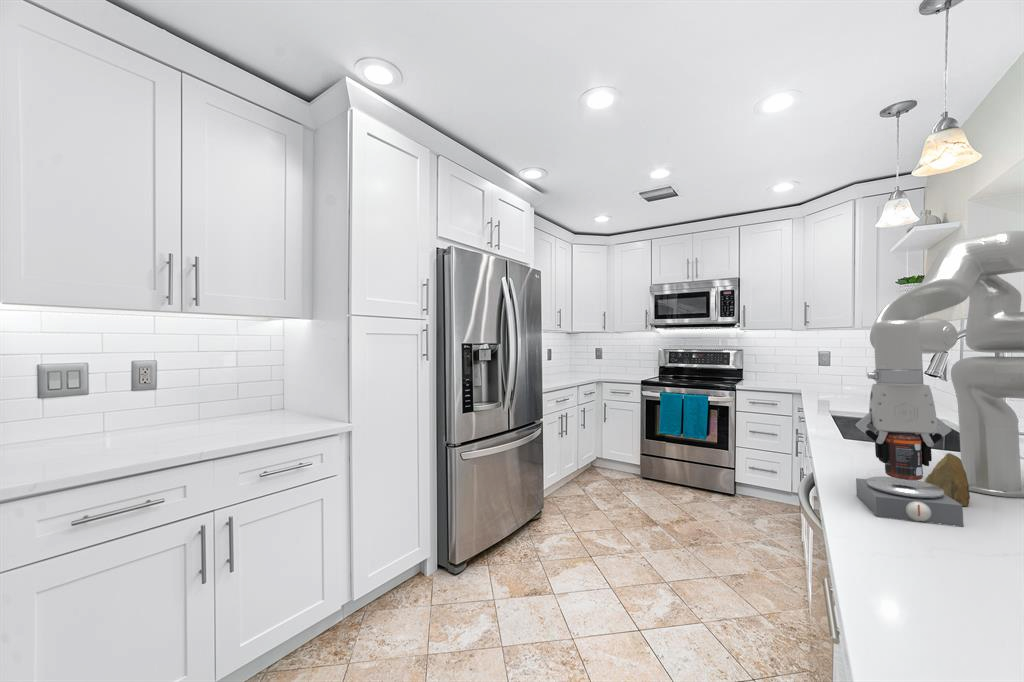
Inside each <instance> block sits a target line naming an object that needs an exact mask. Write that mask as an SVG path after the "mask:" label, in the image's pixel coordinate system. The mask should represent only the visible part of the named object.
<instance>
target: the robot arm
mask: <svg viewBox="0 0 1024 682" xmlns="http://www.w3.org/2000/svg"><path fill="white" fill-rule="evenodd" d="M1023 272H1024V230H1007V231H999V232H994V233H990V234H989V233H988V234H985V235H984V234H983V235H978V236H973V237H967V238H963V239H959V240H955V241H952V242H950V243H947V244H946V245H944V246H943V247H942V248H941V249H939V251H938V252H937V254H936V256H935V258H934V260H933V262H932V263H931V266H930V267H929V269H928V271H927V272H926V274H925V276H924V278H923V279H922V281H921V283H920V284H919V285H917V286H915V287H913V288H911V289H909V290H907V291H906V292H905V293H903V294H901V295H900V296H898V297H896V298H895V299H893V300H892V301H890V302H889V303H888V304H887V305H885V306H884V307H883V308H882V310H881V311H880V312H879V314H878V315H877V318H876V319H875V321H874V323H873V325H872V327H871V329H870V333H869V340H870V341H869V342H870V345H871V346H872V348H873V350H874V361H875V362H874V366H875V369H874V371H872V372H867V374H866V375H867V379H869V380H871V379H872V380H874V382H875V383H872V386H871V389H870V390H871V391H870V397H869V404H868V405H869V408H868V409H869V410H868V413H867V414H866V415H864V416H863V417H862V418H861V419H860V420H858V421H857V422H856V423H855V427H857V429H858V430H860V431H861V432H863V433H864V434H865V435H866V436H867V437H869V439H871V440H872V441H873V442H874V447H875V449H874V450H875V453H874V454H875V458H876V459H878V460H879V461H880V462H881V463H882V464H885V463H888V458H887V445H886V444H885V443H884V440H885V438H886V436H887V434H888V432H897V433H915V434H916V435H918V436H920V438H921V446H922V466H925V467H930V462H932V459H933V458H932V457H933V456H932V447H934V446H935V444H937V443H938V442H939V441H940V440H941V439H942V438H943V437H945V436H946V435H948V434H949V433H950V432H952V428H951V427H950V426H949V425H947V424H946V423H945V422H943V421H942V420H941V419H940V418H938V417H937V412H936V406H935V401H934V397H933V393H932V390H931V386H930V385H929V384H924V368H923V367H924V364H923V354H942V353H945V352H947V351H950V350H951V349H952V348H953V347H954V346H955V345H956V344H957V341H958V340H959V334H958V333H959V332H958V330H957V328H956V327H955V326H954V324H953V323H951V322H950V321H947V320H945V319H942V318H922V317H926V316H928V315H931V314H935V313H939V312H941V311H945V310H947V309H949V308H953V307H954V306H958V305H960V304H961V303H963V302H965V301H966V300H967V299H968V298H969V303H968V304H969V305H968V311H967V312H968V313H967V319H966V327H965V343H966V345H967V347H968V348H969V349H970V350H971V351H975V352H979V353H988V354H989V353H991V354H997V353H998V354H1001V353H1002V354H1003V353H1004V354H1010V353H1011V354H1017V353H1018V354H1022V353H1023V354H1024V311H1021V308H1022V307H1021V306H1022V297H1023V296H1022V293H1021V292H1020V291H1019V290H1018V289H1017V288H1016V287H1015V286H1014V285H1012V284H1011V283H1010V282H1008V281H1006V280H1005V279H1003V278H1002V277H1000V276H999V275H1007V274H1008V275H1009V274H1015V273H1023ZM919 318H920V319H919ZM950 378H951V383H952V385H953V389H954V393H955V395H956V396H955V397H956V401H957V402H956V403H957V410H958V426H959V427H958V428H959V429H958V431H959V449H960V460H961V462H962V464H963V468H964V470H965V472H966V477H967V481H968V485H969V492H975V493H979V494H984V495H985V494H986V495H989V496H998V497H1007V498H1024V485H1022V470H1021V469H1022V468H1021V453H1020V434H1019V433H1020V431H1019V418H1018V415H1017V413H1016V411H1014V409H1013V408H1012V407H1011V406H1010V405H1009V404H1008V403H1007V401H1005V400H1004V399H1005V398H1006V399H1008V398H1009V399H1020V400H1021V399H1022V400H1023V399H1024V356H1005V355H1004V356H1002V355H1001V356H998V355H997V356H986V355H985V356H983V355H981V356H970V357H964V358H961V359H959V360H957V361H956V362H954V364H953V365H952V367H951V369H950ZM1003 398H1004V399H1003ZM868 424H869V425H870V426H871V427H872V428H875V432H874V431H872V430H871V429H870V428H869V427H868Z"/></svg>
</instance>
